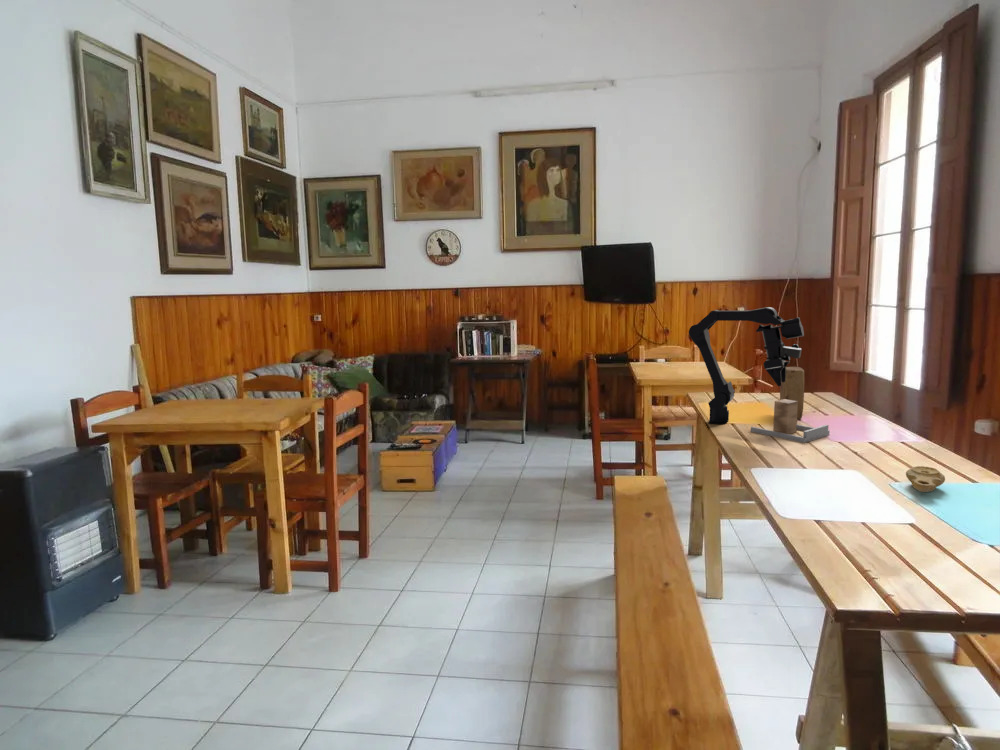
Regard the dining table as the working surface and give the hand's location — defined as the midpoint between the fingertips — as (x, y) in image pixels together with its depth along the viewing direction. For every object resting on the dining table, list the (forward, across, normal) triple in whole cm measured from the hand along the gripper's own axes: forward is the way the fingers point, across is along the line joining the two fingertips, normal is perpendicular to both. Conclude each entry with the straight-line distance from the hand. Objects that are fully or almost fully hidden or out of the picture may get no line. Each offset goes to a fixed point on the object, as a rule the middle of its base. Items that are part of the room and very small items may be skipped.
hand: (781, 383), depth 227 cm
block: (+17, +21, +3) cm, 27 cm away
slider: (+16, -10, 0) cm, 19 cm away
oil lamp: (+27, -51, -38) cm, 69 cm away
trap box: (+17, -11, -1) cm, 20 cm away
